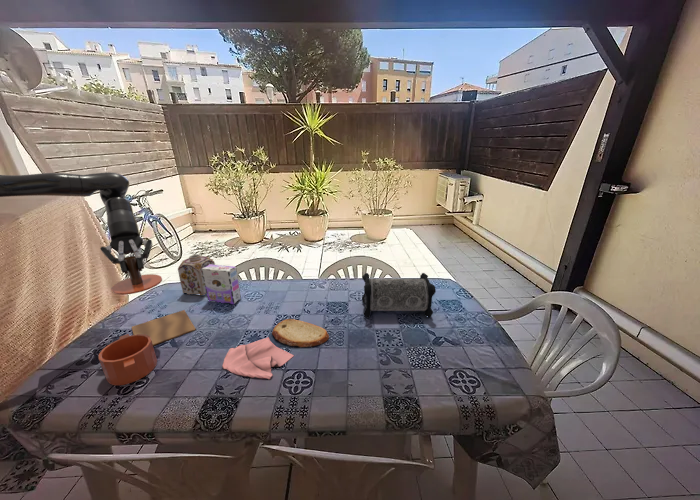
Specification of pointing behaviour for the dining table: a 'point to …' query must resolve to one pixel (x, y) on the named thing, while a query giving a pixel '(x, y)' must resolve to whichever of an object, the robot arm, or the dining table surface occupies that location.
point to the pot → (128, 359)
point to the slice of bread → (299, 333)
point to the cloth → (255, 359)
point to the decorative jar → (193, 274)
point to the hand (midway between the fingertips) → (133, 271)
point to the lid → (135, 279)
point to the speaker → (398, 295)
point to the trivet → (165, 327)
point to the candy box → (221, 283)
